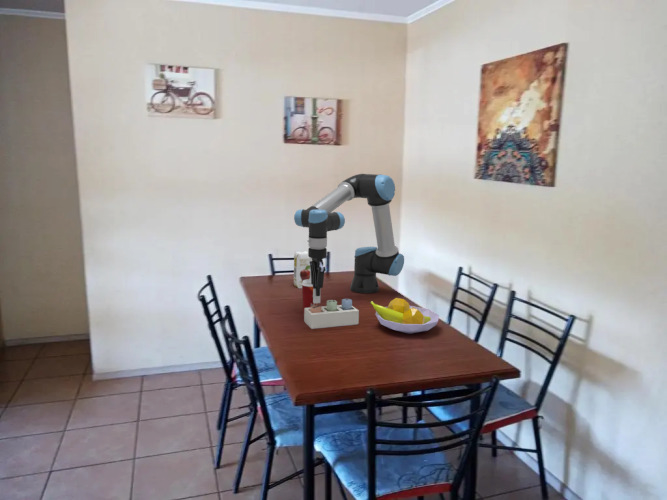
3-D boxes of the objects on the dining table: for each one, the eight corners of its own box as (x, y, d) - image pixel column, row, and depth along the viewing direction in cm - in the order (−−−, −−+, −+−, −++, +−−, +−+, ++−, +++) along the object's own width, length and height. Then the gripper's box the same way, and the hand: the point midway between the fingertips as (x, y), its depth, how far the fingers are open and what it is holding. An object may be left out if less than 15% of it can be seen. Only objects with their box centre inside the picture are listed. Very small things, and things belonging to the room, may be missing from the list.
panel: (349, 317, 227) (349, 304, 226) (358, 324, 218) (358, 310, 217) (304, 321, 219) (304, 307, 218) (311, 328, 210) (311, 314, 209)
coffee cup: (316, 317, 226) (317, 284, 223) (298, 315, 227) (299, 282, 225) (321, 311, 234) (321, 279, 231) (303, 309, 235) (304, 278, 233)
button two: (334, 313, 221) (334, 299, 219) (338, 316, 217) (338, 301, 215) (324, 313, 219) (325, 299, 218) (328, 316, 215) (328, 302, 214)
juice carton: (292, 285, 278) (293, 251, 275) (307, 284, 282) (307, 250, 278) (297, 289, 271) (298, 253, 268) (312, 287, 275) (313, 253, 272)
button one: (349, 311, 223) (349, 297, 222) (353, 314, 219) (353, 300, 218) (339, 312, 222) (340, 298, 220) (343, 315, 218) (344, 301, 216)
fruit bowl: (440, 321, 225) (441, 296, 223) (435, 342, 199) (437, 314, 197) (377, 314, 232) (378, 290, 230) (364, 333, 206) (365, 306, 204)
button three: (318, 318, 218) (319, 304, 217) (322, 321, 214) (322, 307, 213) (309, 319, 217) (309, 305, 216) (312, 322, 213) (312, 308, 212)
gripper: (303, 245, 215) (303, 299, 219) (314, 251, 203) (313, 308, 207) (320, 244, 217) (319, 297, 222) (331, 250, 205) (330, 306, 210)
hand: (316, 302), depth 215 cm, fingers closed
